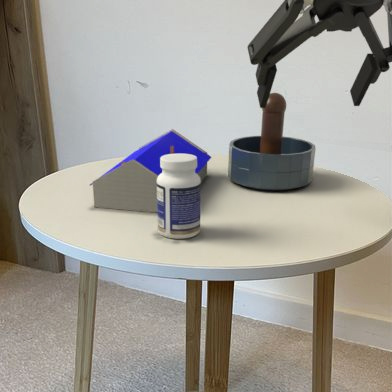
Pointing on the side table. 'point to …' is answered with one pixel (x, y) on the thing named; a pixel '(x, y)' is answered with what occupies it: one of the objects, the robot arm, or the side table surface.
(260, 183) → the bowl
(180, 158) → the pill bottle
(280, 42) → the robot arm
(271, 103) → the brown cylinder
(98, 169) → the side table surface
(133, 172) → the toy house model
